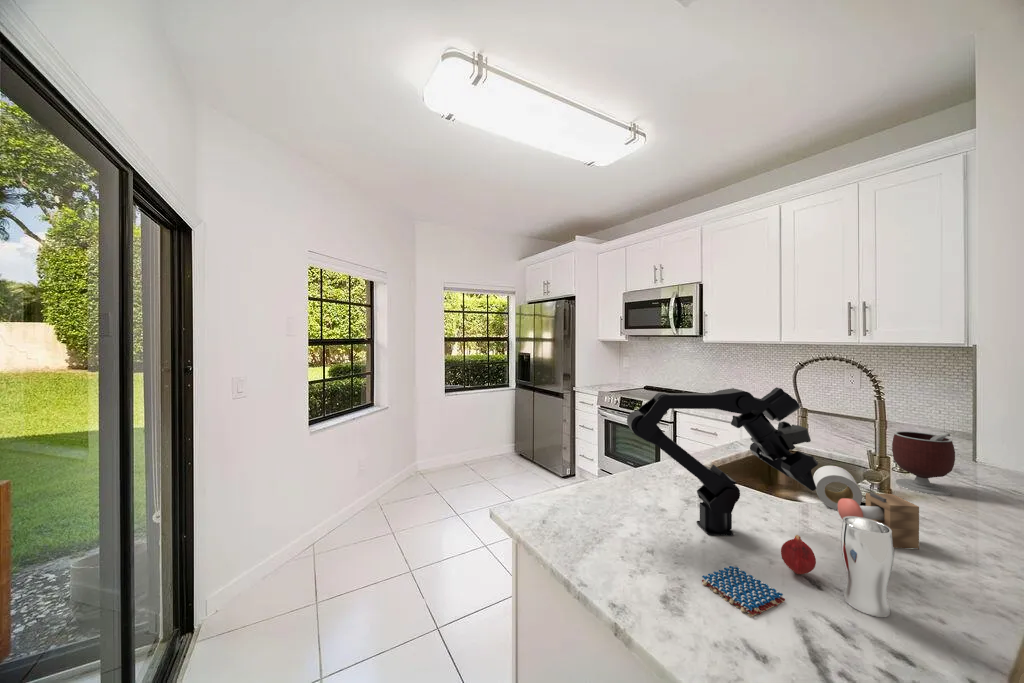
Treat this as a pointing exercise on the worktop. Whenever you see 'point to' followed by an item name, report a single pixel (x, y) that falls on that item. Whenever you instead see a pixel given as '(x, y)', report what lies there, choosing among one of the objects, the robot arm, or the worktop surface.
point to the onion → (798, 556)
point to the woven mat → (743, 590)
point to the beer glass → (867, 564)
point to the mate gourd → (923, 459)
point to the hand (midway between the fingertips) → (801, 482)
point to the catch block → (898, 518)
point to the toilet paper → (835, 475)
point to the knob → (859, 510)
